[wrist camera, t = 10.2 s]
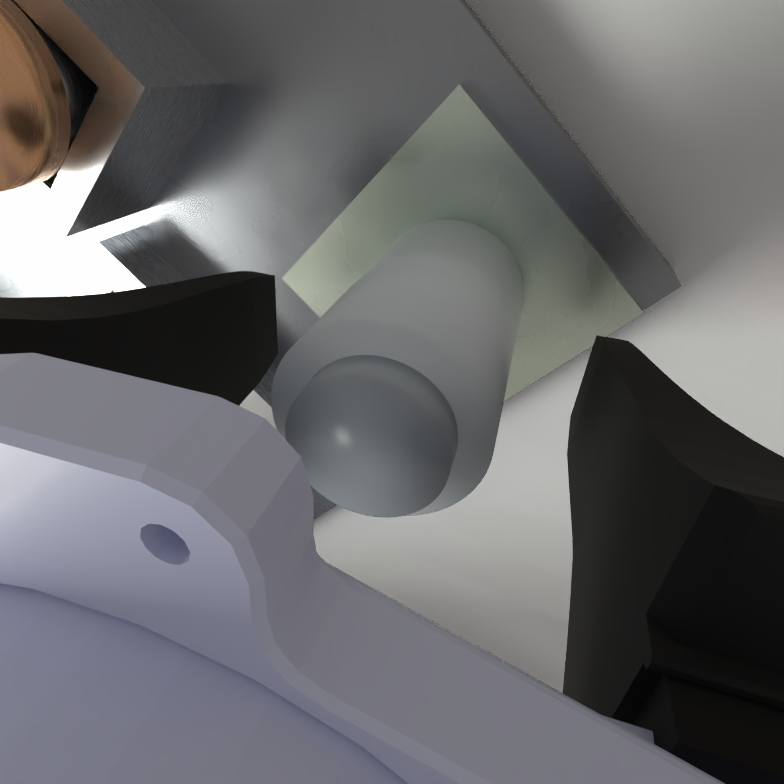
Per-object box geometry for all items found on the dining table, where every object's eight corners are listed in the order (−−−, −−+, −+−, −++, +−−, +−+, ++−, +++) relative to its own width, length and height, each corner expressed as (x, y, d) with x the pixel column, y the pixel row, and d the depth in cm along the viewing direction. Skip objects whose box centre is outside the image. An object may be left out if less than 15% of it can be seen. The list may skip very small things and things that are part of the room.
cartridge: (543, 238, 13) (521, 381, 7) (502, 375, 15) (458, 570, 9) (388, 203, 14) (251, 309, 8) (369, 340, 16) (252, 502, 10)
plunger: (192, 84, 13) (58, 91, 10) (127, 193, 15) (-2, 231, 12) (67, -52, 12) (-126, -95, 9) (16, 83, 14) (-157, 89, 11)
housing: (673, 270, 14) (709, 341, 10) (269, 535, 24) (216, 618, 21) (94, -477, 10) (-164, -771, 7) (-97, 210, 20) (-241, 242, 17)
